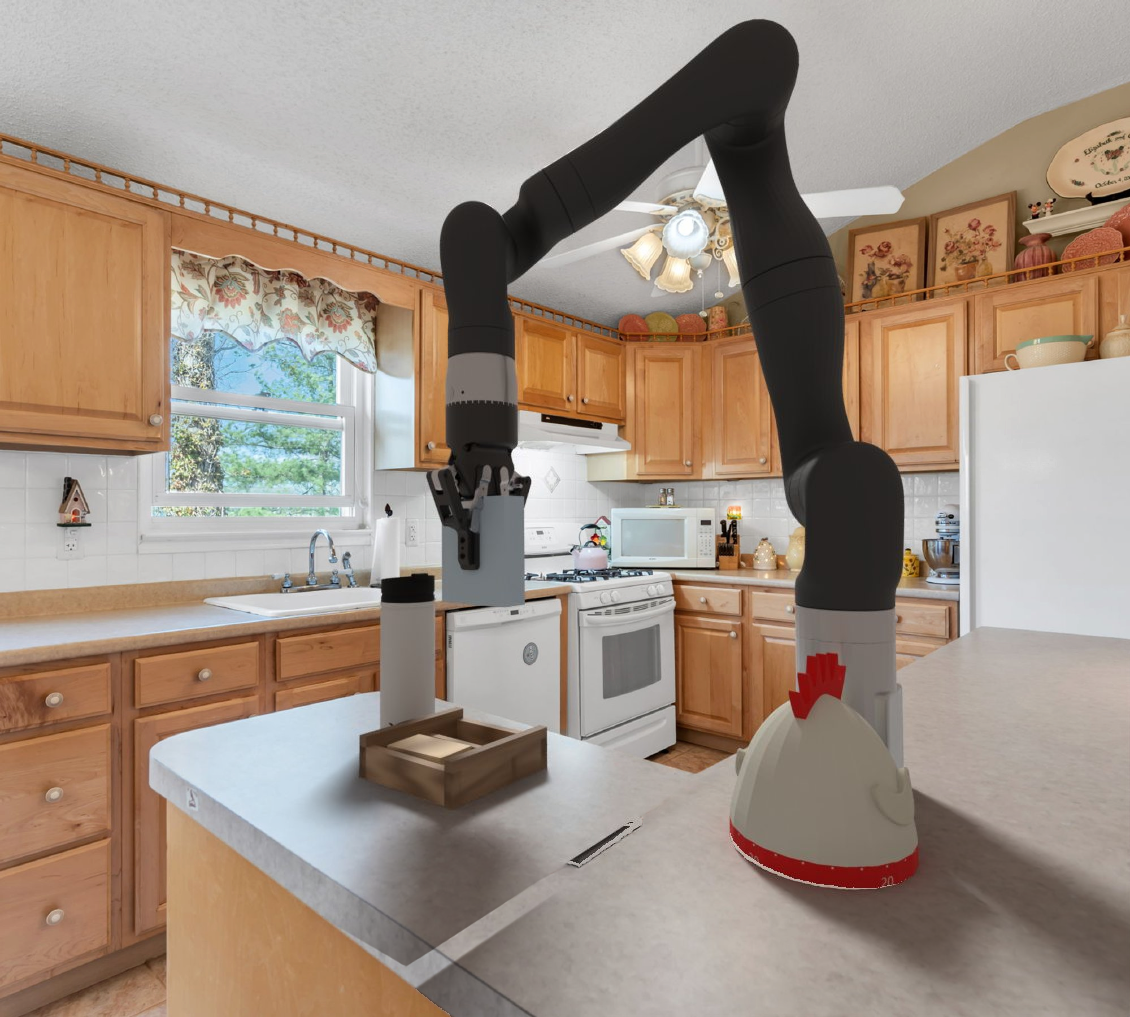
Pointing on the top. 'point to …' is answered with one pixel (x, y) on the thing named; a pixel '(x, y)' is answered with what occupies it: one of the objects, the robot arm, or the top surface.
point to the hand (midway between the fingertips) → (482, 568)
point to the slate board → (489, 558)
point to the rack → (453, 758)
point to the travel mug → (407, 648)
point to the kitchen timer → (824, 791)
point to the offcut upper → (429, 748)
